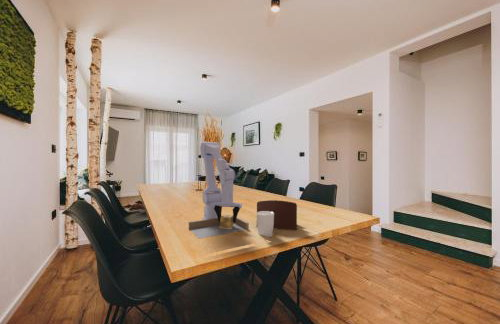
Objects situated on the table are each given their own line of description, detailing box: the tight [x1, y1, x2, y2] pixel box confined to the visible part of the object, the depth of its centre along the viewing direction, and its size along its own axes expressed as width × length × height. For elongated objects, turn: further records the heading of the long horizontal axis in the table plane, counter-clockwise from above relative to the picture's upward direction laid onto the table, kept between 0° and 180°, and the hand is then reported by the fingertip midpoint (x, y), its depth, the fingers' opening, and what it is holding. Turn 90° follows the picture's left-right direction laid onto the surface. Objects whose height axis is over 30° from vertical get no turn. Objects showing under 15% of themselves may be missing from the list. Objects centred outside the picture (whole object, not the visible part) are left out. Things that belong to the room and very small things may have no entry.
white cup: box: [256, 211, 274, 238], centre depth 97 cm, size 8×8×10 cm
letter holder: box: [256, 199, 298, 231], centre depth 111 cm, size 10×20×14 cm, turn 80°
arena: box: [188, 216, 250, 239], centre depth 103 cm, size 16×24×4 cm, turn 121°
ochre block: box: [220, 214, 233, 228], centre depth 106 cm, size 5×5×5 cm
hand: (227, 221), depth 106 cm, fingers open, 7 cm apart
